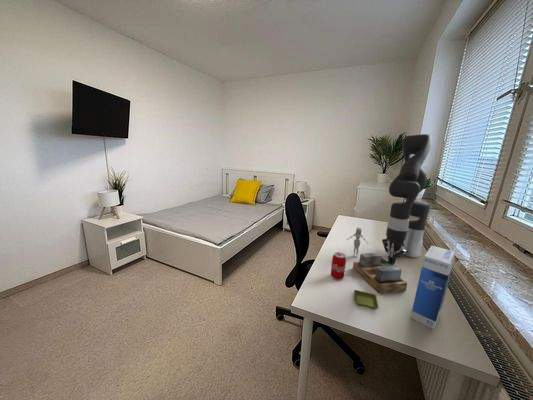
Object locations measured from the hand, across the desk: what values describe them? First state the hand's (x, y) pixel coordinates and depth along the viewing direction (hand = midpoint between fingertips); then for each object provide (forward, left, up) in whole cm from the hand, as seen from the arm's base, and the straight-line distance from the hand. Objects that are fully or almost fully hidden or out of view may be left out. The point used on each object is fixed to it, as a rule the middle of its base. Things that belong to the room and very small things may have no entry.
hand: (391, 263), depth 95 cm
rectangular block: (+1, 0, -10) cm, 10 cm away
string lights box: (-3, +18, -12) cm, 22 cm away
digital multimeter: (-11, -20, -13) cm, 26 cm away
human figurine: (-2, -28, -12) cm, 31 cm away
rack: (0, -6, -12) cm, 14 cm away
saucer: (+16, +8, -13) cm, 22 cm away
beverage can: (+19, -10, -12) cm, 25 cm away
